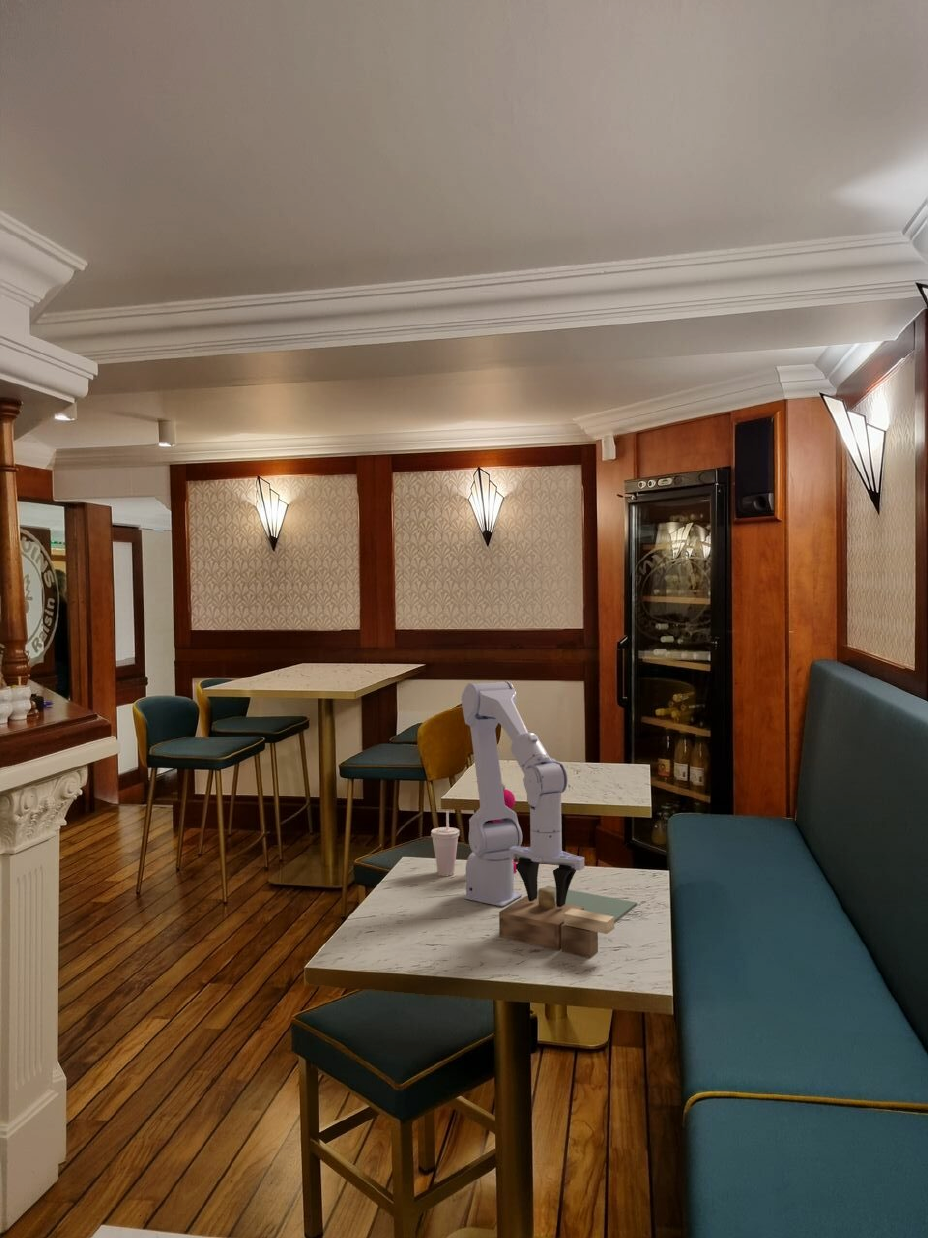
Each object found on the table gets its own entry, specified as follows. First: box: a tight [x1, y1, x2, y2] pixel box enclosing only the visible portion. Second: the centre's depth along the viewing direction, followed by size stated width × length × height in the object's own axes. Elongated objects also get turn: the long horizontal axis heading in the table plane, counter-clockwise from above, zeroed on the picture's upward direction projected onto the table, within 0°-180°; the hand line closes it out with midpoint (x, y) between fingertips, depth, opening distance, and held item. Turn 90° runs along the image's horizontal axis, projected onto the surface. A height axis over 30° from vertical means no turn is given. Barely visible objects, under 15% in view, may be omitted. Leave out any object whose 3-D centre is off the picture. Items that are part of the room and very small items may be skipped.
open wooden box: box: [498, 917, 599, 959], centre depth 156 cm, size 18×10×4 cm, turn 57°
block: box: [564, 908, 615, 935], centre depth 149 cm, size 8×3×2 cm, turn 57°
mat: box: [537, 885, 638, 924], centre depth 172 cm, size 20×14×1 cm
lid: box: [498, 886, 584, 931], centre depth 158 cm, size 12×10×4 cm
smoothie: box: [430, 810, 460, 877], centre depth 194 cm, size 6×6×14 cm
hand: (546, 902), depth 159 cm, fingers open, 5 cm apart
